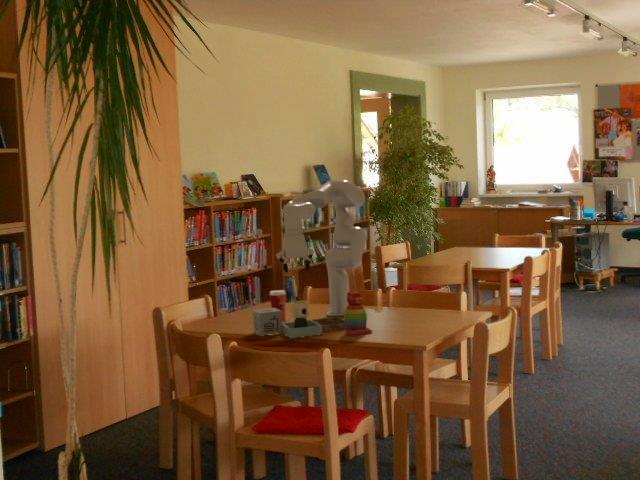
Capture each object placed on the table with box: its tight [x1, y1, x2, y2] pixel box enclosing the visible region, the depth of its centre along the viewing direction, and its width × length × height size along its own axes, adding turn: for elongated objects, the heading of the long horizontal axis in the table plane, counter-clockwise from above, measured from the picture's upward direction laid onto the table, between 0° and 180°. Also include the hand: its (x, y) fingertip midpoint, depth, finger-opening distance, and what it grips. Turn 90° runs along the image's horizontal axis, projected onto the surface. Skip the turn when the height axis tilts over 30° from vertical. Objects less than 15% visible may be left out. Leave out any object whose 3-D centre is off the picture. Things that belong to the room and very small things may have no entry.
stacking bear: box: [344, 290, 373, 337], centre depth 368 cm, size 11×10×18 cm
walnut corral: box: [312, 316, 347, 332], centre depth 386 cm, size 13×17×2 cm
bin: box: [282, 319, 323, 339], centre depth 375 cm, size 14×16×4 cm
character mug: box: [290, 300, 310, 328], centre depth 374 cm, size 11×7×13 cm, turn 154°
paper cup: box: [268, 289, 287, 322], centre depth 408 cm, size 8×8×14 cm
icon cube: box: [252, 307, 283, 337], centre depth 379 cm, size 10×10×10 cm
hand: (296, 270), depth 388 cm, fingers open, 9 cm apart
